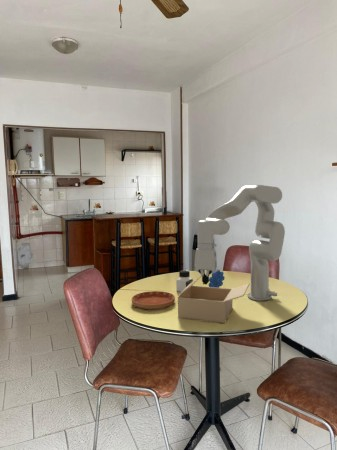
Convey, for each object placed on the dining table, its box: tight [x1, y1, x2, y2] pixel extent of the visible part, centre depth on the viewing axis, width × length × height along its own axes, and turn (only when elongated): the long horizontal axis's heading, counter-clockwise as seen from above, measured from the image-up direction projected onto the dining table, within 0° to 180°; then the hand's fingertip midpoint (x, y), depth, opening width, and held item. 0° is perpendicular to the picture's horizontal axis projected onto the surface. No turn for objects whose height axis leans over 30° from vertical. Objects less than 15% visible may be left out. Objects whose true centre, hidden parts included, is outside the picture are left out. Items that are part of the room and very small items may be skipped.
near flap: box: [225, 282, 250, 302], centre depth 162 cm, size 9×19×1 cm, turn 159°
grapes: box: [208, 269, 225, 288], centre depth 205 cm, size 12×7×12 cm, turn 122°
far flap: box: [177, 275, 202, 297], centre depth 170 cm, size 9×19×1 cm
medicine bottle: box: [175, 269, 194, 293], centre depth 204 cm, size 7×7×12 cm
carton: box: [177, 285, 233, 324], centre depth 168 cm, size 22×20×10 cm
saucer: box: [131, 290, 176, 310], centre depth 184 cm, size 23×23×4 cm
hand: (205, 283), depth 167 cm, fingers closed
